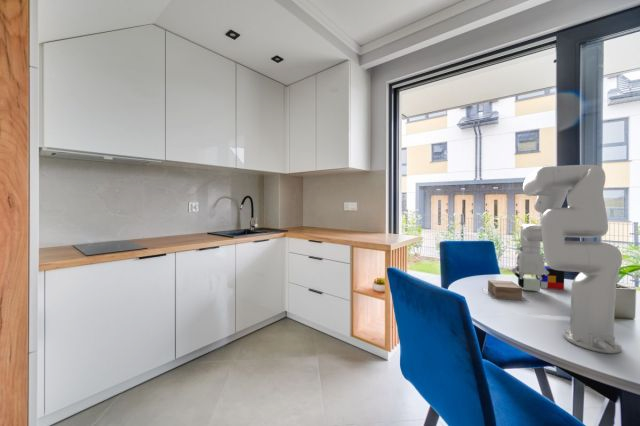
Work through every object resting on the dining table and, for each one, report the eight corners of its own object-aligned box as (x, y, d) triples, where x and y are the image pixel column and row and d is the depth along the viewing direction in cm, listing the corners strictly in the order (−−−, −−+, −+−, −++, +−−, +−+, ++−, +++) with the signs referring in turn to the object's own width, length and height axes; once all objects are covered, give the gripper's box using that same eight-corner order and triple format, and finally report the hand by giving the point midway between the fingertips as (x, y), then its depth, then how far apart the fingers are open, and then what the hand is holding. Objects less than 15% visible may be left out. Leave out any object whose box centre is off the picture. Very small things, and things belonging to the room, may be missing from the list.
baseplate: (529, 304, 114) (529, 301, 114) (492, 301, 118) (492, 298, 118) (514, 293, 127) (514, 290, 127) (481, 291, 131) (481, 288, 131)
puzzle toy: (539, 287, 135) (540, 268, 135) (531, 282, 145) (531, 263, 144) (563, 289, 132) (564, 269, 132) (553, 283, 142) (554, 265, 141)
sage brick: (539, 290, 124) (540, 280, 124) (524, 289, 126) (525, 279, 126) (533, 287, 130) (533, 276, 130) (519, 286, 132) (519, 276, 132)
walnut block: (521, 299, 116) (522, 288, 116) (495, 297, 119) (496, 286, 119) (511, 291, 126) (512, 281, 126) (487, 290, 129) (488, 280, 128)
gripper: (512, 250, 126) (512, 288, 127) (556, 252, 122) (555, 291, 122) (506, 247, 133) (505, 283, 134) (546, 249, 129) (546, 286, 129)
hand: (529, 286), depth 128 cm, fingers closed on sage brick, 6 cm apart
